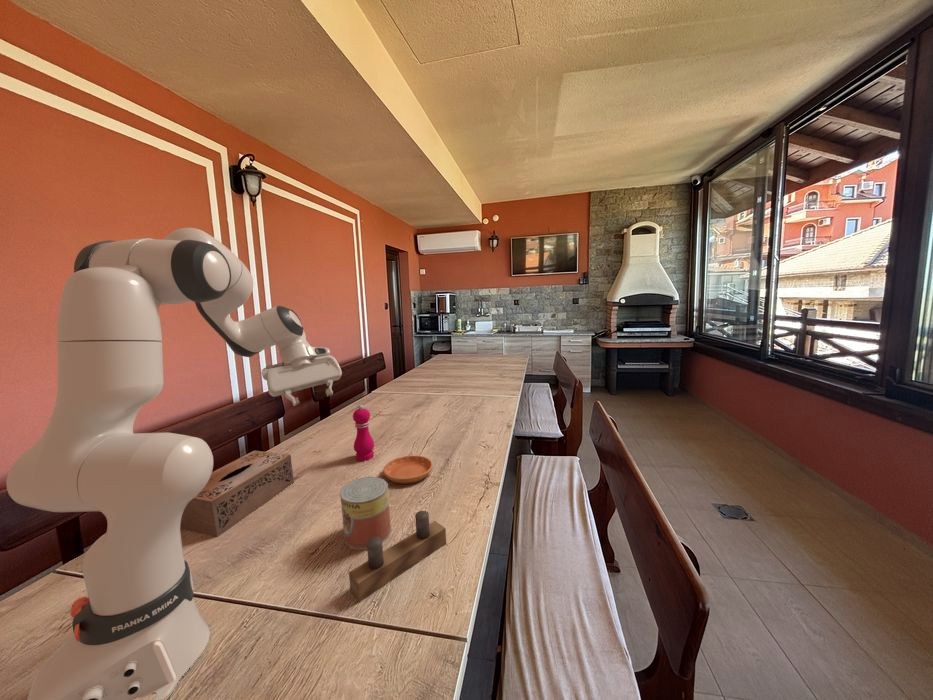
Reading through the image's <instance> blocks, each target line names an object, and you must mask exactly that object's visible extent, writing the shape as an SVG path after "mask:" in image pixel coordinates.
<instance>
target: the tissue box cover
mask: <svg viewBox="0 0 933 700" xmlns="http://www.w3.org/2000/svg"><path fill="white" fill-rule="evenodd" d="M292 464H293V463H292V455H291V454H287V453H280V452H279V453H278V452H270V451H260V450H253V451H251V452H249V453H247V454H245V455H243V456H241V457H238V458H237V459H235V460H233V461H231V462H229V463H227V464H225V465H224V466H221V467H220V468H219V467H218V468H217V469H216V470H214V471H213V470H212V474H211V477H210V479H209V481H208V483H207V484H206V486H205V487H204V488H203V490H202V491H201V492H200V493H199V494H198V495H197V496H196V497H194V498H193V499H192V500H191V501H190V502H189V503H188V504H187V506H186V507H185V509H184V512H183V514H182V518H181V524H180V530H184V531H187V530H188V531H189V532H192V533H196V534H197V533H198V534H203V535H206V536H210V537H211V536H212V537H216V538H218V537H219V536H221V535H223V534H224V533H226V532H227V531H228V530H230V529H231V528H232V527H234V526H235V525H237V524H238V523H239V521H240V522H241V521H242V519H243V520H244V519H245V518H247V517H249V514H250V515H251V514H253V513H254V512H255V511H257V510H258V509H260V508H261V507H263V506H264V505H266V504H267V503H268V502H269V500H270V501H271V500H273V499H274V498H275V497H277V496H278V495H280V494H281V493H283V492H284V491H285V490H286V489H285V488H287V487H288V486H290V485H291V484H292V485H294V484H295V480H294V470H293V465H292ZM293 483H294V484H293ZM292 485H291V486H292ZM291 486H290V487H291ZM288 488H289V487H288ZM288 488H287V489H288ZM284 489H285V490H284ZM283 490H284V491H283ZM280 492H281V493H280ZM279 493H280V494H279ZM276 495H277V496H276ZM273 497H274V498H273ZM259 507H260V508H259ZM256 509H257V510H256ZM252 512H253V513H252ZM246 516H247V517H246Z"/></svg>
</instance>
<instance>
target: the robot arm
mask: <svg viewBox="0 0 933 700" xmlns="http://www.w3.org/2000/svg"><path fill="white" fill-rule="evenodd" d="M253 289H254V279H253V276H252V274H251V272H250V270H249V268H247V266H246V265H245V264H244V262H243V261H242V260H241V259H240V258H239V257H238V256H237V255H236V254H235V253H234V252H233V251H232V250H230V248H228V246H226V245H224V244H223V243H222V242H221V241H219V240H218V239H217V238H216V237H214V236H212V235H210V233H207V232H205V230H202V229H199V228H195V227H183V228H182V227H180V228H178V229H175V230H173V231H172V232H170V233H168V235H166V236H165V238H164V239H157V238H156V239H154V238H149V237H148V238H146V237H144V238H135V239H134V238H132V239H123V240H103V241H98V242H94V243H92V244H89V245H86V246H85V247H83V248H82V249H81V250H80V251H79V252H78V253H77V256H76V257H75V261H74V264H73V273H71V274H70V276H68V277H67V279H66V281H65V283H64V286H63V291H62V292H61V293H62V294H61V298H60V303H59V310H58V317H57V327H56V328H57V329H56V336H57V337H56V338H57V339H56V341H57V342H56V344H57V348H56V349H57V391H56V392H57V393H56V399H55V403H54V404H55V405H54V408H53V411H52V412H51V413H52V414H51V416H50V418H49V421H48V423H47V425H46V428H45V429H44V431H43V432H42V434H41V436H40V437H39V439H38V440H37V441H36V442H35V443H34V445H32V446H30V448H29V449H27V450H26V451H24V452H23V453H22V454H21V455H20V456H19V457H18V458H17V459H16V460H15V461H14V462H13V464H12V465H11V467H10V469H9V471H8V474H7V476H6V490H7V493H8V495H9V496H10V498H11V499H12V500H13V501H14V502H15V503H16V504H19V505H21V506H24V507H28V508H32V509H37V510H41V511H46V512H52V513H80V512H81V513H82V512H83V513H84V512H85V513H87V512H101V513H102V514H103V516H104V517H105V519H106V524H107V527H106V528H107V529H106V532H105V533H104V534H103V535H101V536H99V538H97V539H96V540H95V542H94V543H92V545H91V546H90V547H89V548H88V550H87V551H86V552H85V554H84V556H83V558H82V562H81V571H82V575H83V581H84V583H85V584H84V585H85V588H86V592H87V596H83V597H80V598H78V599H75V600H74V601H73V603H72V604H71V611H70V613H69V615H70V617H71V618H72V631H73V634H72V635H71V636H70V638H68V639H67V640H66V641H65V642H64V644H62V645H61V646H60V647H59V648H57V650H56V651H55V652H54V653H53V654H52V655H51V656H49V657H48V659H46V660H45V662H44V663H43V664H42V666H41V667H40V668H39V670H38V672H37V673H36V676H35V678H34V679H33V680H32V681H33V682H32V684H31V686H30V688H29V691H28V695H27V698H26V699H27V700H133V699H136V698H138V697H139V698H141V697H142V698H141V699H144V698H145V697H146V696H148V695H150V694H152V695H153V694H157V696H156V698H155V699H154V700H158V699H159V700H162V699H164V698H166V696H168V695H169V694H170V693H171V692H172V690H173V689H174V687H175V685H176V684H177V682H178V680H179V679H180V677H181V676H182V675H183V674H184V673H185V672H186V671H187V669H189V667H190V666H191V665H192V664H193V663H194V661H195V660H196V659H197V658H198V657H199V655H200V654H201V653H202V652H203V650H204V649H205V647H206V645H207V646H208V644H209V641H210V636H211V630H210V627H209V624H207V623H206V622H205V620H204V618H203V617H202V615H201V613H200V611H199V610H198V607H197V605H196V602H195V599H194V591H195V588H194V581H193V576H192V571H191V568H190V567H189V564H188V562H187V561H186V559H185V556H184V551H183V550H184V549H183V542H182V533H181V532H182V531H181V529H180V524H181V518H182V514H183V512H184V509H185V507H186V506H187V504H188V503H189V502H190V501H191V500H192V499H193V498H194V497H196V496H197V495H198V494H199V493H200V492H201V491H202V490H203V488H204V487H205V486H206V484H207V483H208V481H209V479H210V477H211V474H212V472H213V469H214V455H213V453H212V449H211V448H210V446H209V444H208V443H207V442H206V441H205V440H204V439H202V438H200V437H196V436H191V435H186V434H180V433H173V432H141V433H139V432H137V433H134V425H135V421H136V418H137V415H138V414H139V412H140V410H141V409H142V407H143V406H144V405H146V404H148V403H150V402H151V401H153V400H154V399H156V398H157V397H158V396H159V395H160V393H162V390H163V388H164V382H165V380H164V363H163V362H164V359H163V357H164V356H163V355H164V354H163V351H164V349H163V335H162V323H161V317H160V313H159V312H160V311H159V308H160V306H161V305H165V306H166V305H167V306H168V305H179V304H188V303H193V302H194V304H195V306H196V307H195V308H196V310H197V311H198V313H199V314H200V316H201V317H202V319H204V321H206V322H207V324H208V325H209V326H210V327H211V328H212V329H213V330H214V331H215V332H216V333H217V334H218V335H219V336H220V337H221V338H222V339H223V340H224V341H225V342H226V344H227V345H228V347H229V348H230V350H231V351H232V352H233V353H234V354H235V355H237V356H241V357H245V358H252V357H253V356H256V355H258V354H259V353H261V352H262V351H264V350H266V349H269V348H271V347H274V346H276V347H277V349H278V354H279V357H280V358H279V359H280V360H281V362H277V363H275V364H272V365H271V364H270V365H267V366H265V367H264V368H263V369H262V370H261V376H262V379H264V380H265V381H266V384H267V391H268V394H269V395H270V396H271V397H273V398H274V397H279V396H282V395H284V396H285V398H286V399H288V400H289V401H290V402H291V403H292V406H293V407H295V406H298V405H300V404H301V403H300V402H301V401H300V400H299V397H298V396H297V397H295V396H293V395H292V393H293V392H298V391H301V390H305V389H309V388H312V387H316V386H321V385H324V384H325V385H326V386H327V387H328V388H326V389H325V395H326V397H330V396H333V394H334V391H333V388H332V387H333V383H334V382H335V381H338V380H339V381H340V379H341V377H342V375H343V371H342V369H341V368H342V367H341V366H340V364H339V362H338V361H337V359H336V358H335V357H334V356H333V355H331V351H330V348H328V347H321V346H319V347H318V346H311V344H310V343H309V342H308V340H307V335H306V332H305V330H304V326H303V323H302V321H301V318H300V317H299V316H298V314H297V313H296V312H295V311H294V310H293V309H291V308H288V307H285V306H283V305H282V306H281V305H277V306H274V307H271V308H269V309H266V310H263V311H261V312H259V313H257V314H254V315H252V316H250V317H248V318H246V319H242V320H238V321H235V320H234V319H232V317H231V316H230V314H231V313H233V312H234V311H235V310H237V309H239V308H240V307H242V306H243V305H244V304H245V303H247V301H248V300H249V299H250V296H251V295H252V292H253ZM207 643H208V644H207ZM206 648H207V647H206ZM205 650H206V649H205ZM205 650H204V651H205ZM203 653H204V652H203Z"/></svg>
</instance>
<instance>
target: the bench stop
mask: <svg viewBox="0 0 933 700" xmlns="http://www.w3.org/2000/svg"><path fill="white" fill-rule="evenodd" d="M414 517H415V518H414V519H415V532H413V533H411V534H410V535H408V536H407V537H405V538H403V539H402V540H400V541H399V542H397V543H395V544H393V545H391V546H390V547H388V548H387V549H385V550H384V548H383V542H382V539H381V538H380V537H372V538H370V539H369V540H368V541H367V549H366V551H367V560H366V561H365V562H364V563H362V564H360V565H358V566H356V567H355V568H354V569H352V570H350V571H348V579H349V588H350V591H351V592H352V594H353V595H354V596H355V597H356V598H357V600H358V601H359V602H362V601H363V600H364V599H366V598H368V597H369V596H370V595H371V596H372V594H374V593H375V592H376V591H379V589H381V588H382V587H385V586H386V585H387V584H388V583H390V582H391V581H393V580H394V579H396V578H397V577H399V576H400V575H402V574H404V572H406V571H408V570H409V569H411V568H412V567H414V566H415V565H417V564H418V563H420V562H421V561H422V560H424V559H426V558H427V557H429V556H430V555H431V554H433V553H435V552H436V551H437V550H439V549H440V548H442V547H443V546H445V545H446V544H447V534H446V533H447V531H446V527H444V526H443V525H442V524H440V523H439V522H437V521H436V520H433V521H432V522H430V514H429V512H428V511H427V510H420V511H418V512H416V513H415V516H414Z"/></svg>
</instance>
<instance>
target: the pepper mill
mask: <svg viewBox="0 0 933 700" xmlns="http://www.w3.org/2000/svg"><path fill="white" fill-rule="evenodd" d="M357 407H358V409H356V410H354V412H353V414H352V420H353V421H354V425H355V428H356V437H355V440H354V442H353V450H354V451H355V459H356V460H357V461H359V460H360V462H365V460H366V461H369V459H370V460H371V459H373V458H374V456H375V455H374V454H375V453H374V448H375V442H374V439H373V437H372V435H371V434H370V430H369V429H370V428H369V426H370V421H369V420H370V418H371V413H370V411H369V410H368V409H367V408H364V405H363V404H359V405H358V406H357Z"/></svg>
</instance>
